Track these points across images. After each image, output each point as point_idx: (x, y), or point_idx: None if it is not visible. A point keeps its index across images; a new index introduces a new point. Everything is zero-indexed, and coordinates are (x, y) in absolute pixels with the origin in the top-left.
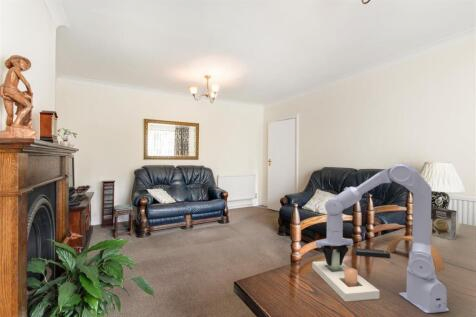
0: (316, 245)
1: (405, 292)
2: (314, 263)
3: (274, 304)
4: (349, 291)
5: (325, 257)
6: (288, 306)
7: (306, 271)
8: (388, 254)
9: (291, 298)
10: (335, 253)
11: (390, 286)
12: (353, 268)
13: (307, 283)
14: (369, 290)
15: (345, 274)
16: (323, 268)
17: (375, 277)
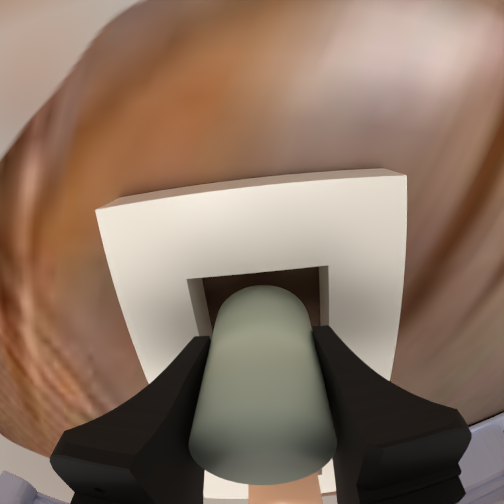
0: (11, 487)
1: (471, 429)
2: (107, 243)
3: (6, 426)
4: (229, 493)
5: (166, 371)
6: (36, 442)
7: (71, 252)
8: None
9: (34, 424)
10: (259, 475)
11: (474, 391)
12: (317, 501)
13: (73, 371)
14: (322, 489)
15: (248, 492)
16: (163, 334)
17: (490, 327)
